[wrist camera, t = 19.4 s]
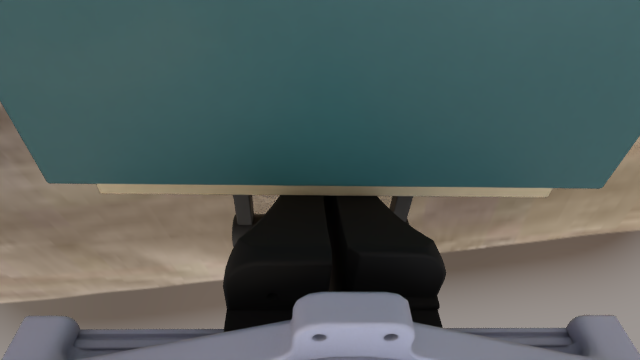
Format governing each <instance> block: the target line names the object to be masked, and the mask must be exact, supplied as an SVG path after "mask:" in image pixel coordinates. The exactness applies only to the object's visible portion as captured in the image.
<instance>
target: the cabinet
mask: <svg viewBox="0 0 640 360" xmlns="http://www.w3.org/2000/svg"><path fill="white" fill-rule="evenodd" d="M0 101H1V103H2V105H3V107H4V108H5V110H6V112H7V114H8V115H9V117H10V119H11V120H12V122H13V124H14V126H15V127H16V129H17V131H18V133H19V134H20V136H21V138H22V140H23V141H24V143H25V145H26V146H27V148H28V150H29V152H30V153H31V155H32V157H33V159H34V160H35V162H36V164H37V166H38V167H39V169H40V171H41V173H42V174H43V176H44V178H45V179H46V181H47V182H48V183H65V184H170V185H275V186H381V187H486V188H591V189H600V188H602V187H603V186H604V185H605V183H606V182H607V180H608V179H609V178H610V176H611V175H612V173H613V172H614V171H615V169H616V168H617V167H618V165H619V164H620V162H621V161H622V160H623V158H624V157H625V155H626V154H627V153H628V151H629V150H630V149H631V147H632V146H633V144H634V143H635V142H636V140H637V139H638V137H639V136H640V0H0Z"/></svg>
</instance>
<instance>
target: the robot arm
mask: <svg viewBox="0 0 640 360" xmlns="http://www.w3.org/2000/svg"><path fill="white" fill-rule="evenodd" d="M445 276H446V270H445V266H444V263H443V260H442V257H441V255H440V253H439V251H438V249H437V247H436V245H435V243H434V241H433V240H431V239H430V238H428V237H426V236H425V235H423V234H422V233H420V232H418V231H417V230H415V229H414V228H412V227H411V226H410V225H408V224H407V223H406V222H404V221H403V220H402V219H400V218H399V217H398V216H397V215H396V214H395V213H394V212H392V211H391V210H390V209H389V208H388V207H387V206H386V205H385V204H384V203H383V202H382V201H381V200H380V199H379V198H378V197H377V196H329V195H280V196H279V198H278V199H277V200H276V202H275V203H274V204H273V206H272V207H271V208H270V209H269V210H268V212H267V213H266V214H265V215H264V216H263V217H262V218H261V219H260V220H259V221H258V222H257V223H256V224H255V225H254V226H253V227H252V228H251V229H250V230H248V231H247V232H246V233H245V234H244V235H243V236H241V237H240V238H239V239H238V240H237V242H236V244H235V246H234V248H233V250H232V252H231V254H230V257H229V260H228V262H227V266H226V269H225V275H224V282H223V289H224V294H225V300H226V306H227V313H226V320H225V327H224V329H110V330H109V329H103V330H101V329H100V330H98V329H96V330H93V329H88V330H80V328H79V325H78V324H77V323H76V321H75V320H74V319H72V318H70V317H67V316H27V317H25V318H24V320H23V322H22V323H21V325H20V327H19V329H18V331H17V332H16V334H15V336H14V338H13V340H12V342H11V343H10V345H9V347H8V349H7V351H6V352H5V354H4V356H3V358H2V360H640V354H639V353H638V351H637V349H636V348H635V346H634V345H633V343H632V341H631V340H630V338H629V337H628V335H627V333H626V332H625V330H624V329H623V327H622V326H621V324H620V322H619V321H618V319H617V318H616V316H614V315H583V316H578V317H575V318H574V319H572V320H571V321H570V323H569V324H568V326H567V327H566V328H442V324H441V321H440V317H439V313H438V310H437V309H439V301H438V297H437V294H438V292H439V290H440V288H441V286H442V284H443V282H444V279H445Z"/></svg>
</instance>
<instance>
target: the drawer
mask: <svg viewBox="0 0 640 360" xmlns="http://www.w3.org/2000/svg"><path fill="white" fill-rule="evenodd" d="M96 185H97V187H98V190H99V192H100V193H102V194H209V195H233V198H234V204H235V211H236V215H235V216H234V220H233V227H232V241H233V247H234V246H235V244H236V242H237V240H238V239H239V238H240V237H241V236H243V235H244V234H245V233H246V232H247V231H248V230H250V229H251V228H252V227H253V226H254V225H255V224H256V223H257V222H258V221H259V220H260V219H261V218H262V217H263V216H264V215H265V214H254V211H253V201H252V195H329V196H393V197H392V201H391V205H390V210H391V211H392V212H394V213H395V214H396V215H397V216H398V217H399V218H400V219H402V220H403V221H404V222H406V223H407V224H408V225H409V223H408V219H407V216H408V212H409V209H410V205H411V202H412V198H413V196H449V197H547V196H548V195H549V193H550V192H551V190H552V188H486V187H381V186H275V185H170V184H96Z"/></svg>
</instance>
